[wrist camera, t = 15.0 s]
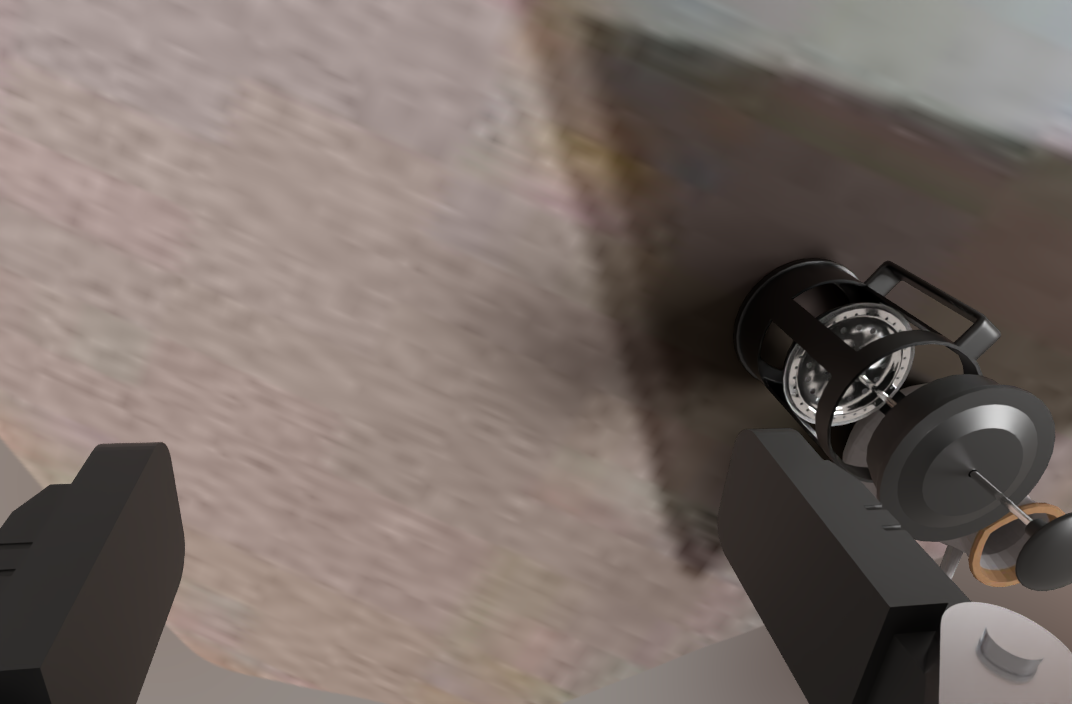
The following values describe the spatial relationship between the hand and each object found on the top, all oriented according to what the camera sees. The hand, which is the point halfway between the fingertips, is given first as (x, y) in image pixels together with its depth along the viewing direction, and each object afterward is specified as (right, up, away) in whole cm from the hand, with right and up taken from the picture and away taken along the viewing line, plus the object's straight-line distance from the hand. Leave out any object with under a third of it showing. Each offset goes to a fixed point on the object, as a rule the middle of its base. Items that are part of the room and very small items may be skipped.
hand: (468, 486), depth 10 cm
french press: (+19, +4, +39) cm, 44 cm away
